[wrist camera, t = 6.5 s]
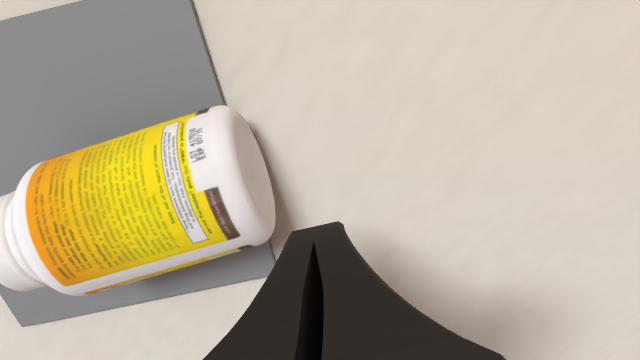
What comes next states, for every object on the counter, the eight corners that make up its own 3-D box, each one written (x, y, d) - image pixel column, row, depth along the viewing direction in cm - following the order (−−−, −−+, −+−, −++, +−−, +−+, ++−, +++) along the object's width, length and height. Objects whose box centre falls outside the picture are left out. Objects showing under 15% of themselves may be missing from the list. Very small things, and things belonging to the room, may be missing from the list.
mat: (183, -25, 18) (181, -25, 17) (278, 269, 24) (277, 274, 23) (-147, 57, 18) (-156, 59, 18) (26, 321, 24) (21, 327, 24)
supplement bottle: (219, 70, 17) (-39, 153, 17) (242, 212, 14) (-58, 301, 15) (266, 142, 22) (64, 205, 22) (289, 256, 19) (62, 321, 20)
